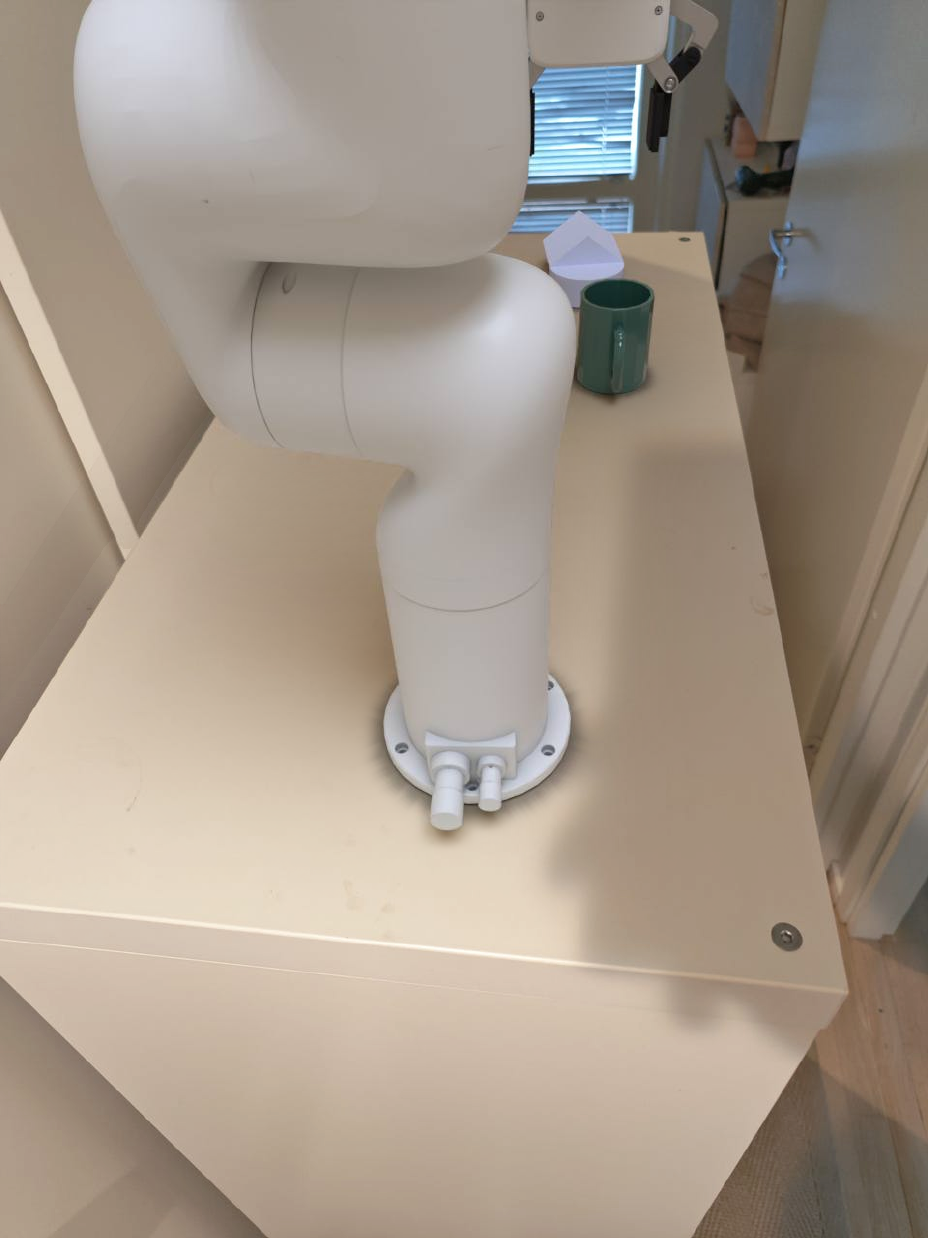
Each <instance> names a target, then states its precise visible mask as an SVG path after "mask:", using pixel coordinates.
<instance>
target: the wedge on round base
mask: <svg viewBox="0 0 928 1238" xmlns="http://www.w3.org/2000/svg"><path fill="white" fill-rule="evenodd" d="M542 242H543V246H544V250H545V254H546V258H547V263H548V275H549V276H550V277H552V278H553V279H554V280H555V281H556V282H557V283H558V284H559V285H560V287H561V288H562V289H563V291H564V292H565V293H566V295H567V297H568V299H569V301H570V304H571V306H572V308H578V309H580V292H581V290H582V289H583V288H584V287H585V286H586V285H588V284H590V283H593V282H595V281H599V280H604V279H616V278H623V279H624V274H625V261H624V259H623V256H622V254H621V251H620V249H619V246H618V244H617V241H616V239H615V236H614V234H612V233H610V232H609V231H608V230H606V229H605V228H604V227H603V226H601V225H600V224H598V222H596V221H594V220H593V219H591V218H590V217H589V216H588V215H586V214H585V213H583V212H582V211H581V210H578V211H576V212H575V213H574V214H573V215H571V216H570V217H569V218H568V219H566V220H565V221H564V222H563V223H562V224H561V225H559V226H558V227H557V228H555V229H554V230H553V231H552V232H551V233H550V234H548V235H547V236H546V237H545V238H543V239H542Z"/></svg>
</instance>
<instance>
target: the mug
mask: <svg viewBox="0 0 928 1238" xmlns="http://www.w3.org/2000/svg"><path fill="white" fill-rule="evenodd" d="M655 299H656V296H655V291H654V289H653V288H652V287H651V286H650V285H648V284H647V283H644V282H642V281H639V280H636V279H629V278H624V277H623V278H616V279H604V280H599V281H595V282H593V283H590V284H588V285H586V286H585V287H584V288H583V289H582V290H581V292H580V308H578V311H579V312H578V331H577V332H578V336H577V355H576V358H577V359H576V379H577V381H578V383H579V384H580V385H581V386H582V387H584V388H585V389H587V390H590V391H592V392H595V393H600V394H605V395H606V394H607V395H617V394H618V395H619V394H625V393H629V392H631V391H632V392H633V391H634V390H637V389H638V388H640V387H641V386H643V384H644V383H645V381H646V379H647V378H646V377H647V372H648V365H649V364H648V363H649V354H650V344H651V337H652V326H653V316H654V307H655V306H654V305H655Z"/></svg>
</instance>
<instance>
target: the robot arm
mask: <svg viewBox="0 0 928 1238" xmlns="http://www.w3.org/2000/svg"><path fill="white" fill-rule="evenodd" d="M670 15H671V16H673V17H674V18H676V19H678V20H679V21H681V22H682V23H684V24H686V25H688V26H689V27H691V30H692V32H691V35H690V36H689V38H688V41H687V42H686V45H685V46H683V48H682V49H681V50H680V51H679V52H678V53H677V54H676V56H674V57H673V58H672V59H671V61H670V62H669V61H668V59H667V58H666V57H665V55H664V52H665V50H666V46H667V41H668V37H669V36H668V34H669V25H670ZM718 28H719V19H718V18H717V17H716V16H715V14H713V13H712V12H710V11H709V10H707V9H706V8H704V7H702V6H701V5H699V4H697V3H696V2H694V1H693V0H91V1H90V2H89V4H88V6H87V8H86V10H85V11H84V14H83V16H82V19H81V23H80V26H79V29H78V31H77V36H76V41H75V47H74V56H73V69H72V75H73V76H72V78H73V79H72V81H73V99H74V100H73V101H74V109H75V115H76V123H77V129H78V135H79V141H80V145H81V148H82V152H83V155H84V160H85V164H86V168H87V171H88V174H89V178H90V180H91V183H92V185H93V188H94V190H95V193H96V196H97V198H98V201H99V203H100V205H101V208H102V209H103V211H104V213H105V216H106V218H107V220H108V222H109V224H110V226H111V228H112V230H113V233H114V235H115V236H116V239H117V240H118V243H119V244H120V247H121V248H122V250H123V252H124V254H125V256H126V258H127V260H128V261H129V263H130V265H131V267H132V269H133V271H134V273H135V275H136V276H137V279H138V281H139V283H140V285H141V286H142V289H143V290H144V292H145V294H146V296H147V298H148V300H149V301H150V303H151V305H152V307H153V309H154V311H155V313H156V314H157V316H158V318H159V320H160V322H161V324H162V326H163V328H164V330H165V332H166V334H167V335H168V337H169V339H170V341H171V343H172V345H173V346H174V348H175V350H176V352H177V355H178V356H179V358H180V360H181V362H182V363H183V366H184V368H185V369H186V371H187V374H188V375H189V377H190V379H191V380H192V382H193V384H194V386H195V387H196V389H197V391H198V393H199V395H200V396H201V399H202V400H203V401H204V403H205V404H206V406H207V408H209V410H210V412H211V413H212V414H213V415H214V417H215V418H216V419H217V420H218V421H219V422H220V423H221V424H222V425H223V427H225V428H226V429H227V430H228V431H229V432H231V433H232V434H233V435H235V436H236V437H238V438H240V439H241V440H244V441H246V442H248V443H251V444H254V445H257V446H260V447H266V448H271V449H276V450H285V451H291V452H297V453H306V454H313V455H314V454H315V455H323V456H324V455H325V456H333V457H341V458H348V459H349V458H350V459H357V460H358V459H359V460H367V461H370V462H374V463H380V464H381V463H383V464H389V465H395V466H399V467H402V468H405V469H406V470H405V471H404V472H403V473H402V474H401V476H400V477H399V478H398V480H397V481H396V482H395V483H394V485H393V486H392V487H391V489H390V490H389V492H388V494H387V496H386V497H385V499H384V500H383V503H382V505H381V508H380V511H379V513H378V517H377V521H376V525H375V526H376V528H375V547H376V554H377V560H378V566H379V570H380V577H381V583H382V589H383V594H384V601H385V606H386V607H385V608H386V613H387V619H388V625H389V630H390V637H391V642H392V648H393V655H394V661H395V667H396V672H397V678H398V684H397V686H396V687H395V688H394V690H393V692H392V693H391V694H390V697H389V699H388V701H387V703H386V706H385V710H384V716H383V721H382V722H383V723H382V725H383V726H382V727H383V737H384V741H385V745H386V750H387V753H388V756H389V757H390V760H391V761H392V763H393V765H394V766H395V768H396V769H397V770H398V771H399V773H400V774H401V775H402V777H404V778H405V779H406V780H407V781H408V782H409V783H411V784H412V785H413V786H414V787H416V788H417V789H419V790H421V791H422V792H425V793H426V794H429V795H430V796H431V803H430V813H429V823H430V825H431V826H432V827H433V828H435V829H438V830H441V831H453V830H458V829H460V828H461V827H462V825H463V821H464V820H463V818H464V805H465V804H467V805H469V804H471V805H472V804H473V805H474V804H477V805H478V807H479V809H480V810H482V811H484V812H497V811H498V810H500V809H501V807H502V801H506V800H509V799H512V798H513V797H517V796H519V795H522V794H524V793H526V792H528V791H529V790H531V789H533V788H535V787H536V786H538V785H539V784H541V783H542V782H543V781H544V780H546V778H547V777H548V776H550V775H551V774H552V773H553V772H554V770H555V769H556V767H557V766H558V765H559V764H560V762H561V761H562V759H563V757H564V755H565V753H566V750H567V748H568V745H569V740H570V736H571V721H572V716H571V711H570V704H569V702H568V699H567V696H566V694H565V692H564V690H563V688H562V687H561V685H560V684H559V682H558V681H557V680H556V678H554V676H553V675H551V674H550V672H549V670H550V667H549V666H550V665H549V664H550V627H551V626H550V622H551V621H550V620H551V584H552V583H551V581H552V580H551V579H552V578H551V576H552V536H553V535H552V531H553V509H554V508H553V506H554V493H555V492H554V491H555V480H556V472H557V465H558V459H559V451H560V445H561V441H562V435H563V430H564V425H565V421H566V415H567V411H568V405H569V400H570V396H571V391H572V386H573V381H574V374H575V366H576V360H577V359H576V358H577V341H578V336H577V332H578V331H577V324H576V317H575V313H574V309H573V307H572V306H571V304H570V301H569V299H568V297H567V295H566V293H565V292H564V291H563V289H562V288H561V287H560V285H559V284H558V283H557V282H556V281H555V280H554V279H553V278H552V277H550V276H549V273H546V272H545V271H543V270H542V269H540V268H539V267H537V266H535V265H534V264H533V265H532V264H531V263H528V262H527V261H524V260H520V259H518V258H515V257H511V256H506V255H503V254H498V253H494V252H489V251H491V250H493V249H494V248H495V247H496V246H497V245H498V244H499V243H501V242H502V241H504V239H505V238H506V236H507V235H508V234H509V233H510V232H511V230H512V229H513V227H514V224H515V222H516V220H517V218H518V216H519V214H520V212H521V210H522V208H523V204H524V201H525V194H526V191H527V186H528V180H529V171H530V158H532V157H533V155H534V156H535V149H536V147H535V145H536V144H535V143H536V142H535V141H536V139H535V138H536V117H535V116H536V92H533V87H534V86H535V84H536V83H537V82H538V80H539V79H540V78H541V76H542V74H543V73H544V72H545V71H546V69H584V68H586V69H587V68H607V67H625V66H627V67H628V66H629V67H630V66H640V65H646V66H647V68H648V70H649V71H650V72H651V74H652V76H653V77H654V83H653V84H652V87H650V89H649V98H648V99H649V100H648V110H647V111H648V112H647V123H646V134H645V143H646V146H647V150H648V151H650V152H651V153H659V150H660V140H661V138H668V136H669V128H670V117H671V109H672V100H673V93H674V92H675V91H676V90H677V89H678V87H679V84H680V83H681V82H682V81H683V80H684V79H685V78H686V77H687V76H688V75H689V74H690V73H691V72H692V71H693V70H694V69H695V68H696V66H698V65H699V63H700V61H701V59H702V56H703V54H704V52H705V51H706V50H707V48H708V46H709V45H710V43H711V41H712V39H713V38H714V35H715V33H716V32H717V30H718Z"/></svg>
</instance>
